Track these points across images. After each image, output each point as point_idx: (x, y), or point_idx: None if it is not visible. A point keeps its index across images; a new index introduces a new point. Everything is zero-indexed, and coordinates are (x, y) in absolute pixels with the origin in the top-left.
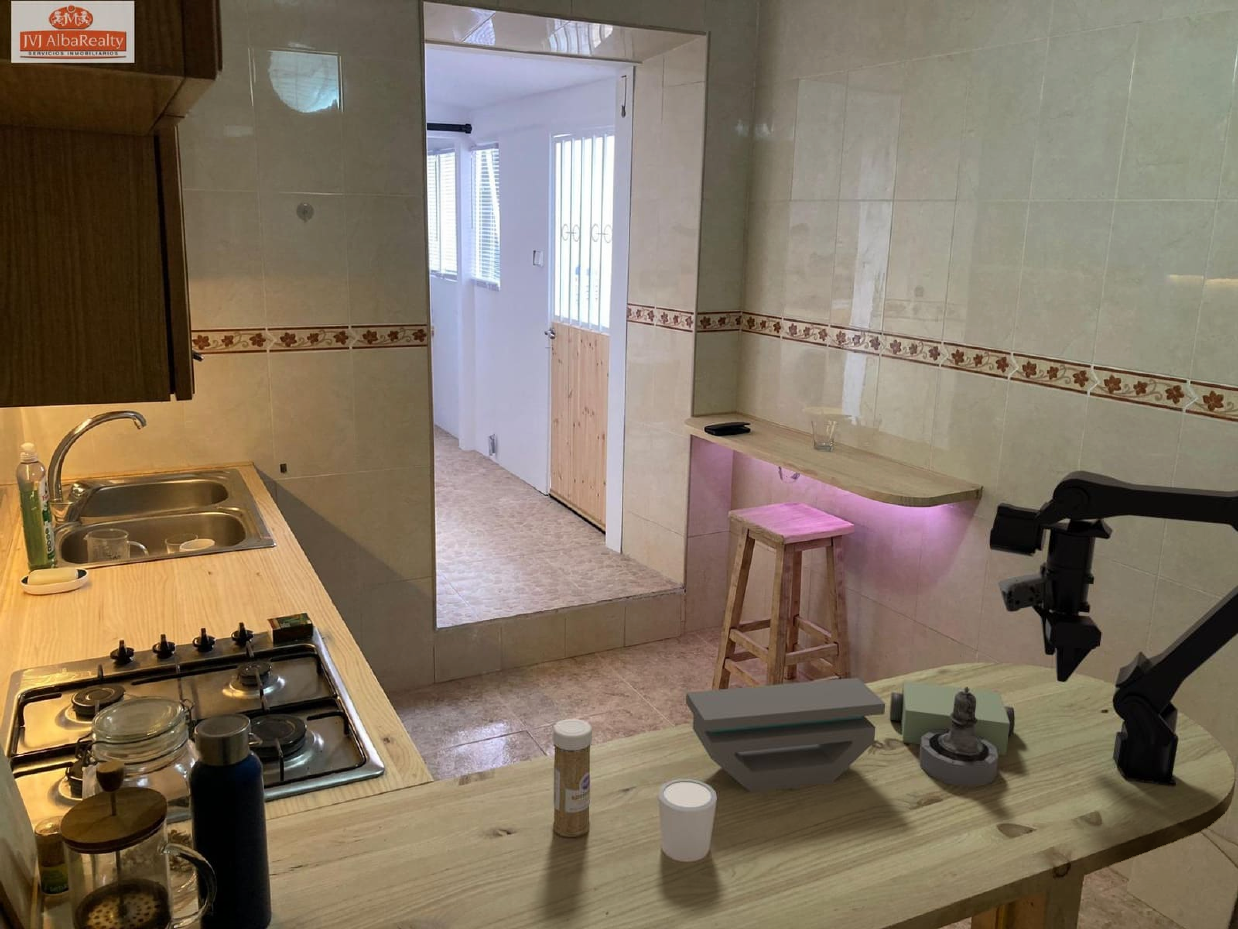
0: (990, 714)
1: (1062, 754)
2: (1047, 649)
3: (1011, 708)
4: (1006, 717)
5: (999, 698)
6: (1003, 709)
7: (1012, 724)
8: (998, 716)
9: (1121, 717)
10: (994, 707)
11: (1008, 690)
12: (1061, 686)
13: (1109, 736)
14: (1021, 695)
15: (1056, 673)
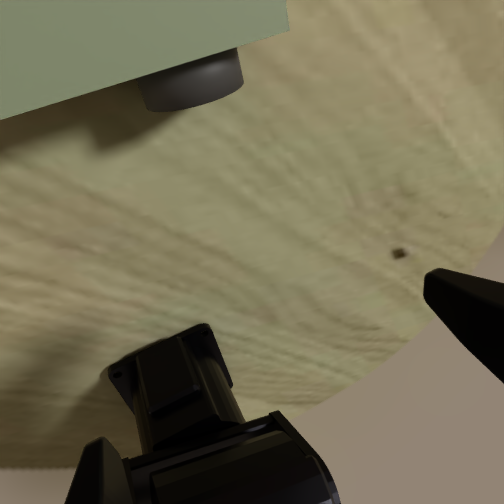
0: (2, 13)
1: (144, 239)
2: (448, 293)
3: (208, 93)
4: (33, 101)
5: (226, 36)
6: (118, 73)
7: (148, 103)
8: (14, 61)
9: (150, 476)
10: (109, 25)
11: (452, 36)
12: (486, 158)
13: (295, 289)
14: (431, 77)
15: (97, 473)
